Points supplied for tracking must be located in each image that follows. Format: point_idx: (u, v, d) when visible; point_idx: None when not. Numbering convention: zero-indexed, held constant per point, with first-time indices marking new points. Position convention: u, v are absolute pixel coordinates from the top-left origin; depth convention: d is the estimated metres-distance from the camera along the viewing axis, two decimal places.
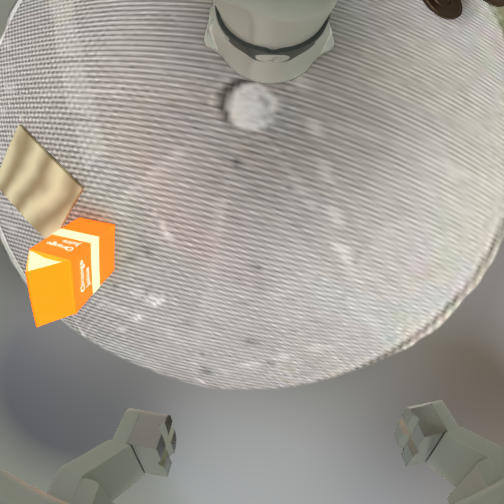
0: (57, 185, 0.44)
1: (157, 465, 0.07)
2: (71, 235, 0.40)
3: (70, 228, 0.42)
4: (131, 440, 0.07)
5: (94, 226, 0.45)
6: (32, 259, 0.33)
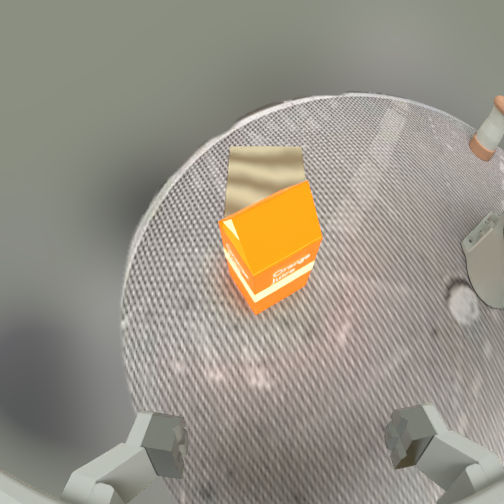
0: None
1: (171, 467, 0.07)
2: None
3: None
4: (145, 443, 0.07)
5: None
6: None
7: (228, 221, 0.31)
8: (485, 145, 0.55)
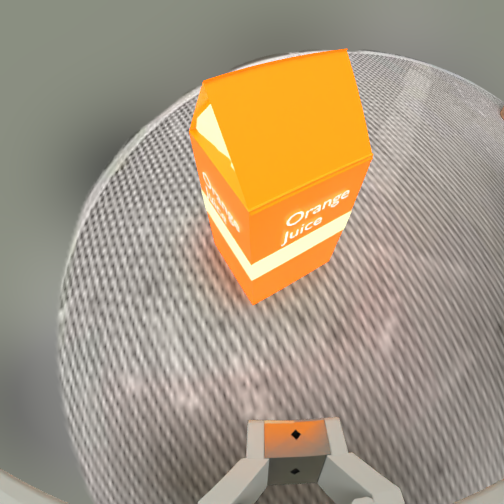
0: None
1: (288, 474, 0.07)
2: None
3: None
4: (268, 453, 0.07)
5: None
6: None
7: (203, 115, 0.15)
8: None
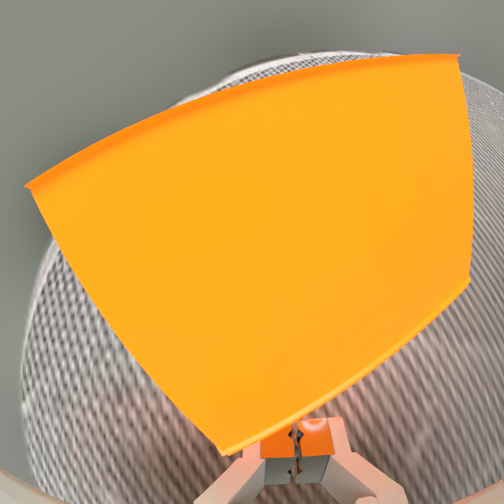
0: None
1: (284, 474, 0.07)
2: None
3: None
4: (264, 453, 0.07)
5: None
6: None
7: None
8: None
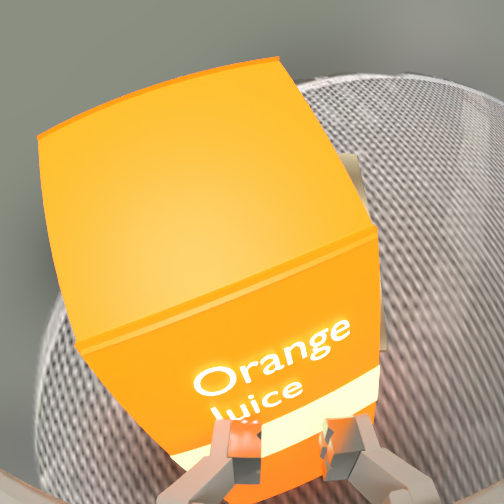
0: None
1: (254, 474, 0.07)
2: None
3: None
4: (231, 452, 0.07)
5: None
6: None
7: None
8: None
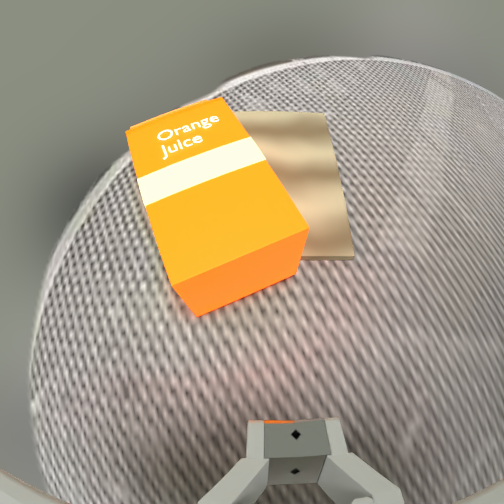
0: (315, 210, 0.28)
1: (288, 474, 0.07)
2: None
3: None
4: (267, 453, 0.07)
5: None
6: None
7: None
8: None
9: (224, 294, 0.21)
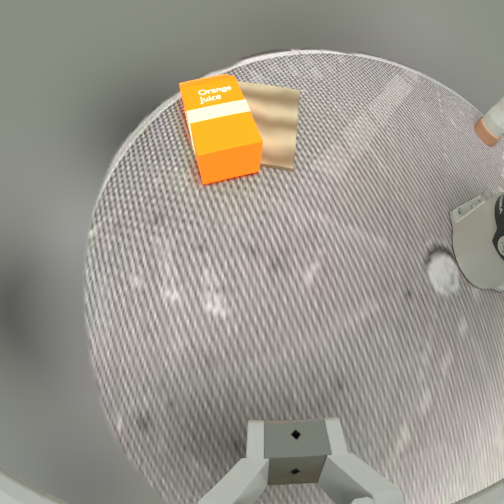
0: (277, 143, 0.48)
1: (288, 474, 0.07)
2: None
3: None
4: (267, 453, 0.07)
5: None
6: None
7: None
8: (490, 129, 0.52)
9: (219, 171, 0.42)
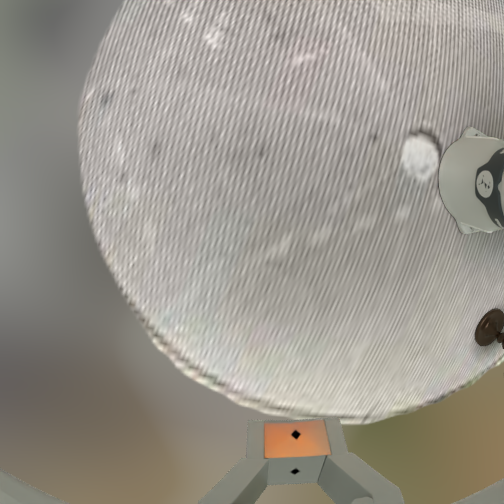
0: None
1: (288, 474, 0.07)
2: None
3: None
4: (268, 453, 0.07)
5: None
6: None
7: None
8: None
9: None
